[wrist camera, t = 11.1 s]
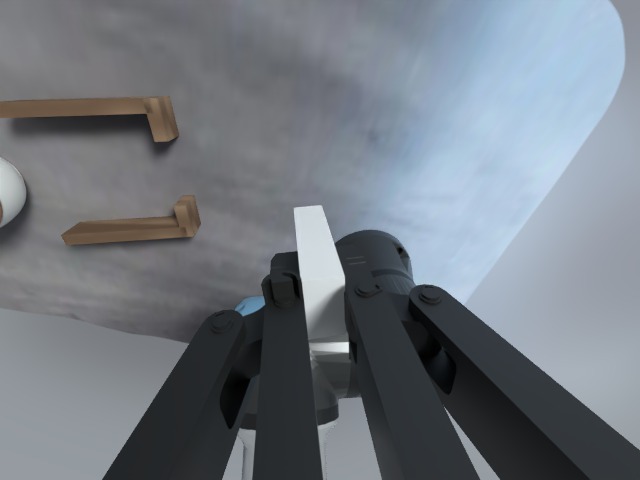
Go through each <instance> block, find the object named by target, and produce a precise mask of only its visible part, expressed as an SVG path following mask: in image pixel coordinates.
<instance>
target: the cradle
mask: <svg viewBox="0 0 640 480" xmlns="http://www.w3.org/2000/svg"><path fill="white" fill-rule="evenodd" d="M117 114H147V117H148V120H149V124H150V127H151V130H152V134H153V137H154V141H155V142H166V141H170V140H172V139H174V138H176V137H178V136H179V133H178V129H177V125H176V121H175V117H174V113H173V109H172V104H171V100H170V96H164V97H125V98H86V99H47V100H17V101H3V102H0V118H20V117H52V116H85V115H117ZM174 210H175V214H176V216H168V217H152V218H136V219H120V220H104V221H88V222H79V223H78V224H76V225H75V226H74V227H72V228H71V229H69V230H68V231H66V232H65V233H63V234H62V235H61V236H62V238H63V240H64V242H65V244H66V245H77V244H91V243H106V242H120V241H135V240H149V239H164V238H178V237H193V236H194V235H195V233H196V232H197V230H198V228H199V226H200V224H201V222H200V218H199V214H198V210H197V206H196V202H195V198H194V195H187V196H182V197H181V198H180V200H179V201H178V202H177V203H176V204H175V205H174Z"/></svg>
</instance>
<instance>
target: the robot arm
mask: <svg viewBox="0 0 640 480" xmlns="http://www.w3.org/2000/svg"><path fill="white" fill-rule="evenodd" d="M294 216H295V227H296V238H297V248H298V251H295V252H286V253H277V254H275V256H274V257H273V258H272V260H271V270H270V274H269V275H267V276H266V277H265V278H264V279H263V281H262V284H261V286H262V291H263V296H253V297H248V298H245V299H243V300H242V301H241V302H240V303H239V304H238V305H237V307H236V308H235V310H223V311H220V312H217V313H214V314H213V315H211V316H210V317H208V318H207V319H206V320H205V321H204V323H203V324H202V325H201V327H200V328H199V330H198V331H197V333H196V335H195V336H194V338H193V339H192V341H191V342H190V344H189V345H188V347H187V349H186V350H185V352H184V353H183V355H182V357H181V358H180V360H179V361H178V363H177V364H176V366H175V367H174V369H173V370H172V372H171V374H170V375H169V377H168V378H167V380H166V381H165V383H164V384H163V386H162V388H161V389H160V390H159V392H158V394H157V395H156V397H155V398H154V400H153V402H152V403H151V405H150V406H149V408H148V410H147V411H146V412H145V414H144V416H143V417H142V418H141V420H140V422H139V423H138V425H137V426H136V428H135V430H134V431H133V433H132V434H131V436H130V437H129V439H128V440H127V442H126V443H125V445H124V447H123V448H122V450H121V451H120V453H119V454H118V456H117V457H116V459H115V460H114V462H113V464H112V465H111V467H110V468H109V470H108V471H107V473H106V474H105V476H104V478H103V479H102V480H222V478H223V475H224V472H225V469H226V466H227V463H228V460H229V457H230V454H231V451H232V449H233V446H234V443H235V440H236V437H237V435H238V437H239V438H240V439H241V440H242V442H243V444H244V449H243V467H242V480H327V473H326V445H325V444H326V443H325V442H326V441H325V439H326V436H327V435H328V433H329V432H330V431H331V430H332V428H333V427H334V426H335V424H336V423H337V422H338V420H339V414H338V400H339V399H341V398H353V397H355V398H356V397H362V401H363V405H364V409H365V413H366V417H367V421H368V425H369V429H370V433H371V437H372V441H373V445H374V449H375V453H376V457H377V461H378V465H379V468H380V473H381V477H382V480H480V478H479V476H478V474H477V472H476V470H475V469H474V466H473V464H472V462H471V460H470V458H469V456H468V454H467V452H466V450H465V448H464V446H463V444H462V442H461V440H460V438H459V436H458V434H457V432H456V430H455V428H454V426H453V425H452V422H451V421H450V418H449V416H448V414H447V412H446V410H445V408H446V409H447V410H448V412H449V413H450V415H451V416H452V417H453V419H454V420H455V421H456V422H457V424H458V425H459V426H460V428H461V429H462V430H463V432H464V433H465V434H466V435H467V437H468V438H469V439H470V441H471V442H472V443H473V444H474V446H475V447H476V449H477V450H478V451H479V452H480V454H481V455H482V456H483V458H484V459H485V460H486V462H487V463H488V464H489V465H490V467H491V468H492V469H493V471H494V472H495V473H496V475H497V476H498V477H499V478H500V480H640V450H639V449H637V448H636V447H635V446H633V444H631V443H630V442H629V441H628V440H626V439H625V438H624V437H623V436H622V435H620V434H619V433H618V432H617V431H615V430H614V429H613V428H612V427H611V426H609V425H608V424H607V423H606V422H605V421H603V420H602V419H601V418H600V417H598V416H597V415H596V414H595V413H594V412H592V411H591V410H590V409H589V408H587V407H586V406H585V405H584V404H583V403H581V402H580V401H579V400H578V399H577V398H575V397H574V396H573V395H572V394H570V393H569V392H568V391H567V390H565V389H564V388H563V387H562V386H561V385H559V384H558V383H557V382H556V381H554V380H553V379H552V378H551V377H550V376H549V375H547V374H546V373H545V372H544V371H542V370H541V369H540V368H539V367H538V366H536V365H535V364H534V363H533V362H531V361H530V360H529V359H528V358H527V357H525V356H524V355H523V354H522V353H521V352H519V351H518V350H517V349H516V348H514V347H513V346H512V345H511V344H509V343H508V342H507V341H506V340H505V339H503V338H502V337H501V336H500V335H499V334H497V333H496V332H495V331H494V330H492V329H491V328H490V327H489V326H487V325H486V324H485V323H484V322H483V321H482V320H480V319H479V318H478V317H477V316H475V315H474V314H473V313H472V312H471V311H469V310H468V309H467V308H466V307H465V306H463V305H462V304H461V303H460V302H458V301H457V300H456V299H455V298H454V297H452V296H451V295H450V294H449V293H447V292H446V291H445V290H443V289H441V288H440V287H436V286H433V285H425V284H424V285H417V286H416V285H415V283H414V282H413V274H412V267H411V261H410V257H409V255H408V253H407V251H406V250H405V248H404V247H403V245H402V244H401V243H400V242H399V240H397V239H396V238H395V237H394V236H392V235H390V234H388V233H386V232H382V231H378V230H364V231H359V232H355V233H352V234H350V235H348V236H346V237H344V238H342V239H341V240H339V241H338V242H337V243H336V244H335V245H334V242H333V239H332V236H331V233H330V230H329V227H328V223H327V220H326V217H325V214H324V211H323V208H322V205H318V206H308V207H298V208H294ZM444 407H445V408H444Z"/></svg>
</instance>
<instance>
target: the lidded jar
mask: <svg viewBox="0 0 640 480" xmlns="http://www.w3.org/2000/svg"><path fill="white" fill-rule="evenodd" d="M25 201H26V187H25V182H24V179H23V177H22V175H21V173H20V172H19V171H18V170H17V168H16V167H15V166H13V165H12V164H11V163H10V162H8V161H7V160H5V159H4V158H1V157H0V228H1V227H2V226H4V225H6V224H7V223H9V222H10V221H11V220H12V219H13V218H14V217H16V216H17V215H18V213H19V212H20V211H21V209H22V208H23V206H24V204H25Z"/></svg>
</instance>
